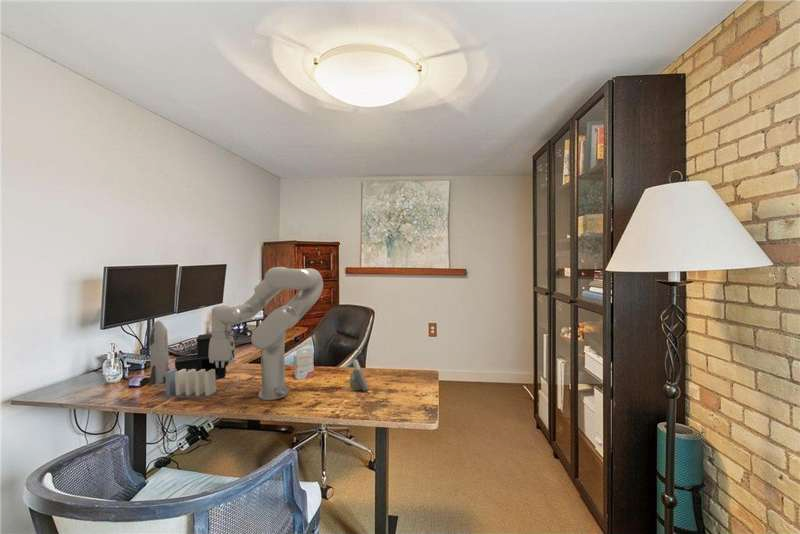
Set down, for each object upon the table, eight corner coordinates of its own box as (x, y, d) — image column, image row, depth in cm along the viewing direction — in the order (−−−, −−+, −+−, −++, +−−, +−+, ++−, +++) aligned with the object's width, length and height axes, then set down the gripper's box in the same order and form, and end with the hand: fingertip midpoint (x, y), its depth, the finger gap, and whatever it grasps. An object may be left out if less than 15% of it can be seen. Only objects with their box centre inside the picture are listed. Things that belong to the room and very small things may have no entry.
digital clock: (367, 392, 155) (367, 368, 155) (347, 393, 155) (346, 368, 155) (370, 379, 171) (369, 357, 171) (351, 380, 171) (351, 358, 171)
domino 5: (215, 391, 158) (215, 369, 158) (209, 395, 153) (208, 372, 153) (212, 391, 158) (211, 369, 158) (205, 395, 154) (204, 372, 153)
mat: (222, 390, 161) (222, 389, 161) (209, 398, 151) (209, 397, 151) (174, 389, 162) (174, 388, 162) (158, 398, 152) (158, 397, 152)
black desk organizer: (169, 386, 166) (167, 337, 166) (173, 379, 176) (172, 332, 176) (224, 379, 176) (223, 332, 175) (226, 372, 186) (224, 328, 185)
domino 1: (177, 390, 160) (176, 368, 159) (169, 395, 155) (168, 372, 154) (174, 390, 160) (173, 368, 159) (166, 395, 155) (165, 372, 155)
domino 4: (206, 391, 159) (205, 369, 158) (199, 395, 154) (198, 372, 153) (202, 391, 159) (202, 369, 159) (195, 395, 154) (194, 372, 154)
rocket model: (156, 387, 166) (154, 323, 165) (141, 387, 166) (139, 323, 166) (176, 377, 180) (174, 318, 179) (163, 377, 180) (161, 318, 180)
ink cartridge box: (311, 374, 181) (310, 345, 181) (314, 376, 177) (313, 347, 176) (294, 377, 177) (293, 347, 176) (296, 380, 172) (296, 350, 172)
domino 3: (196, 391, 159) (195, 369, 159) (189, 395, 154) (188, 372, 154) (193, 391, 159) (192, 369, 159) (185, 395, 154) (184, 372, 154)
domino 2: (187, 391, 159) (186, 368, 159) (179, 395, 154) (178, 372, 154) (183, 390, 159) (182, 368, 159) (175, 395, 154) (175, 372, 154)
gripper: (242, 333, 158) (242, 373, 159) (210, 332, 159) (210, 372, 160) (233, 336, 151) (233, 379, 151) (199, 335, 152) (200, 378, 152)
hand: (221, 375), depth 155 cm, fingers closed
